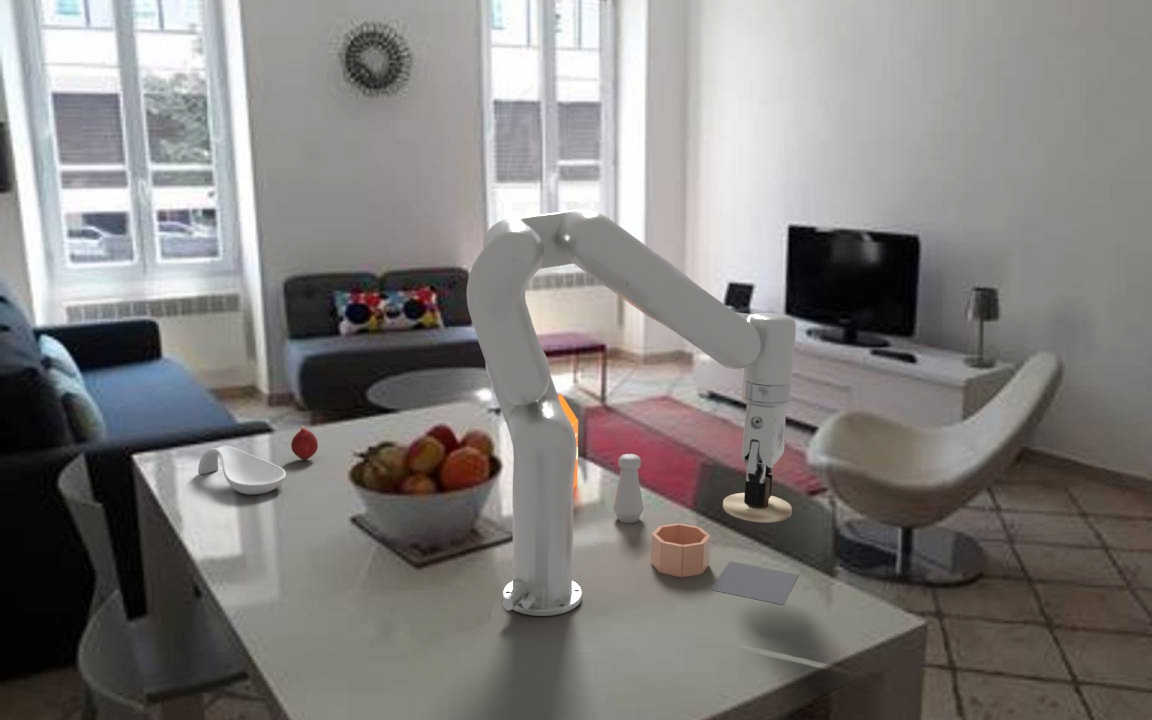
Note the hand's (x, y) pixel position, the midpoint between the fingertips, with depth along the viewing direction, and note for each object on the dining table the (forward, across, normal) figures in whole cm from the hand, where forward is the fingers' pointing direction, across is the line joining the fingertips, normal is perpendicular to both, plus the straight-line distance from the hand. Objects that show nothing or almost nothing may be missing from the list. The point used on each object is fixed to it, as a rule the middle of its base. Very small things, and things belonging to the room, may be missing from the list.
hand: (757, 499), depth 153 cm
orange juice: (+16, +25, +49) cm, 57 cm away
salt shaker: (+16, +17, +29) cm, 37 cm away
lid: (+2, 0, 0) cm, 2 cm away
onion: (+17, +16, +108) cm, 110 cm away
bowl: (+15, +1, +13) cm, 20 cm away
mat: (+15, 0, -1) cm, 15 cm away
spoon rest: (+18, -2, +110) cm, 111 cm away
